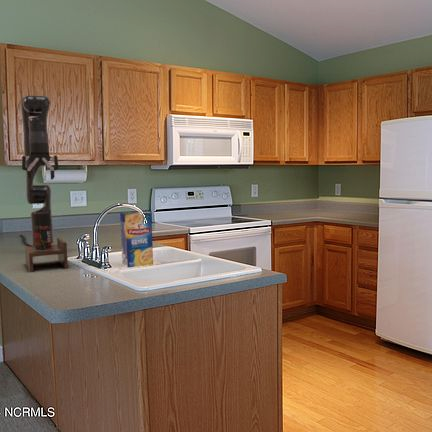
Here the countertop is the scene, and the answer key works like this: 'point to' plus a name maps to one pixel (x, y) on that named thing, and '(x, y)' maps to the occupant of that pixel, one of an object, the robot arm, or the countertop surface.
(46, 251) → the shelf
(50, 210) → the robot arm
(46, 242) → the deodorant
